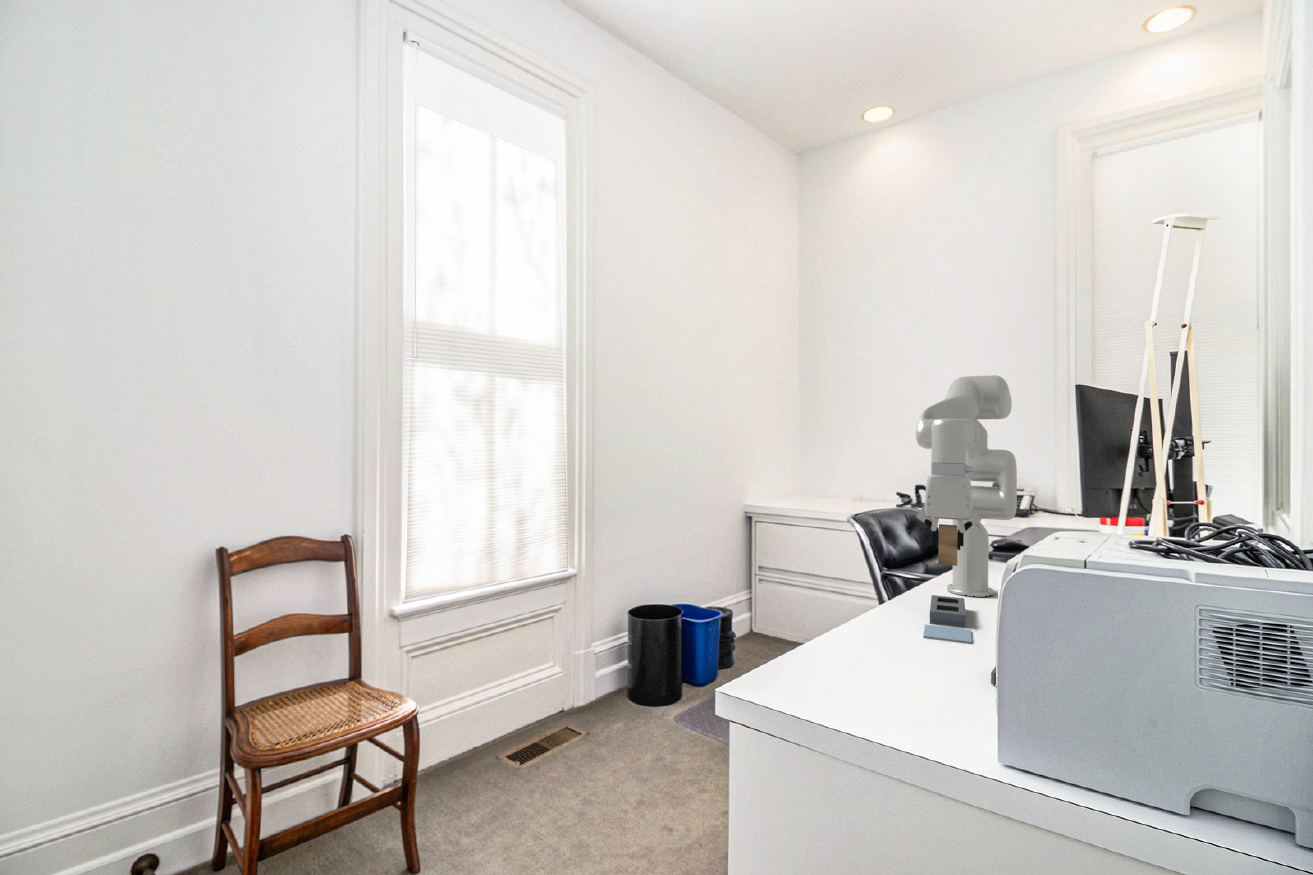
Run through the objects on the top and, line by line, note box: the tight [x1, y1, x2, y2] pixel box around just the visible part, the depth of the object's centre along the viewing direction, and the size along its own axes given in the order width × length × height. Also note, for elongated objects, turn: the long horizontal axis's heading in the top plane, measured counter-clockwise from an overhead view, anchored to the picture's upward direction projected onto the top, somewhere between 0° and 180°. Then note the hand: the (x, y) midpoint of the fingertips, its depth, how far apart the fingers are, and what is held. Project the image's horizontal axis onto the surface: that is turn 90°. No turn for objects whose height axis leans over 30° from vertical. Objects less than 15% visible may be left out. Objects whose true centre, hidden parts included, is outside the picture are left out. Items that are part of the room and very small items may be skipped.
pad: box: [922, 624, 973, 645], centre depth 151 cm, size 10×10×1 cm
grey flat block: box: [929, 594, 967, 628], centre depth 166 cm, size 18×8×3 cm, turn 155°
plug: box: [937, 523, 958, 567], centre depth 152 cm, size 4×4×9 cm
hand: (947, 547), depth 152 cm, fingers closed on plug, 4 cm apart
